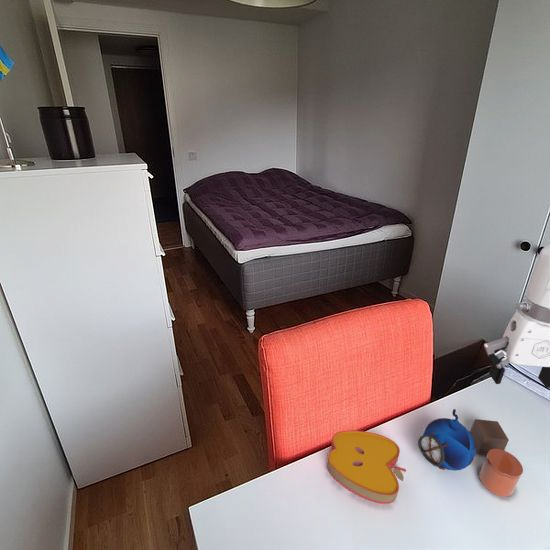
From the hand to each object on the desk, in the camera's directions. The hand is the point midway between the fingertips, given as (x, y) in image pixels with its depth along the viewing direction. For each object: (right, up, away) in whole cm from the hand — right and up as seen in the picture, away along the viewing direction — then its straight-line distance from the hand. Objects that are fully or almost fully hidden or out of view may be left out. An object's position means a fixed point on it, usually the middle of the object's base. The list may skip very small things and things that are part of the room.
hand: (519, 381), depth 71 cm
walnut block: (-3, -16, +6) cm, 18 cm away
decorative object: (-40, -15, +1) cm, 42 cm away
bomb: (-15, -18, +2) cm, 24 cm away
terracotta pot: (-6, -20, -2) cm, 21 cm away
